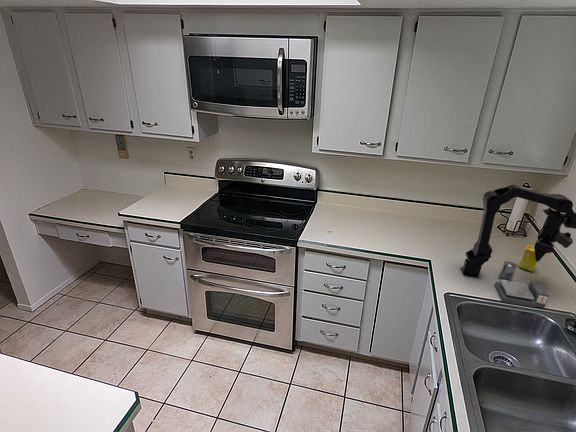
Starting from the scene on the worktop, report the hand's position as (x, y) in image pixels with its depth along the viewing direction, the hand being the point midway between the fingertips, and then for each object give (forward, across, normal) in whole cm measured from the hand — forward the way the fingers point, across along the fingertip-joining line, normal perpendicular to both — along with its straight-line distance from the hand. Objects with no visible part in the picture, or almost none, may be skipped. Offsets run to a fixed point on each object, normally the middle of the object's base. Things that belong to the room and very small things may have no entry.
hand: (538, 257), depth 153 cm
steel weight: (+14, -4, +8) cm, 17 cm away
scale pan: (+11, -16, +3) cm, 19 cm away
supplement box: (+14, +14, +2) cm, 20 cm away
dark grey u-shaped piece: (+14, -15, +1) cm, 20 cm away
